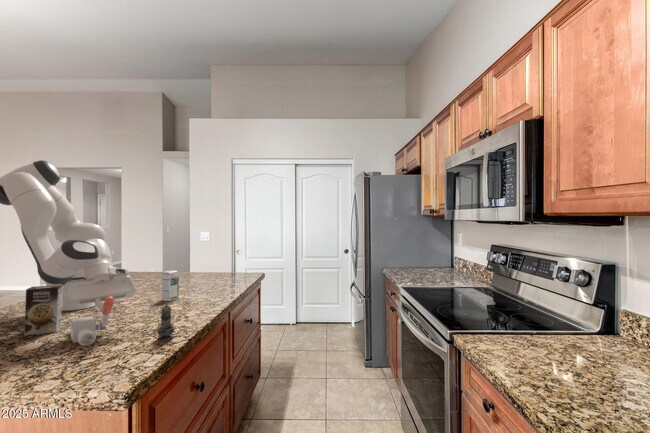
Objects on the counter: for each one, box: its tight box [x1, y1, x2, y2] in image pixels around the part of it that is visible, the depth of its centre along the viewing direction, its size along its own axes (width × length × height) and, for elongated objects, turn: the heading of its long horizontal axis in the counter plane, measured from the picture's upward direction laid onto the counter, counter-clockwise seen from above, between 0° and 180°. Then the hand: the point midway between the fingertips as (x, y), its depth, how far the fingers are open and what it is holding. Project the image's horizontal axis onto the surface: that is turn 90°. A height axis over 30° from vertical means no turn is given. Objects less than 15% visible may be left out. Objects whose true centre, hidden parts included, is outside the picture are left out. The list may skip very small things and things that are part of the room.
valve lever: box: [98, 297, 115, 332], centre depth 111 cm, size 3×3×18 cm
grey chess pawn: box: [156, 303, 176, 342], centre depth 111 cm, size 6×6×12 cm
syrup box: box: [161, 269, 180, 302], centre depth 164 cm, size 6×6×14 cm
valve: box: [70, 316, 100, 347], centre depth 111 cm, size 18×7×6 cm, turn 44°
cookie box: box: [23, 284, 62, 336], centre depth 117 cm, size 9×6×16 cm
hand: (105, 310), depth 111 cm, fingers closed, pressing on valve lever
